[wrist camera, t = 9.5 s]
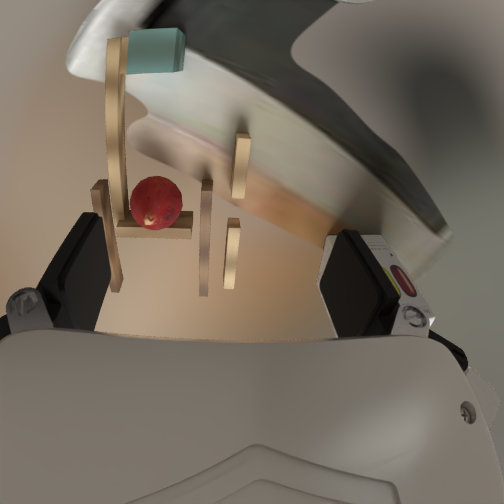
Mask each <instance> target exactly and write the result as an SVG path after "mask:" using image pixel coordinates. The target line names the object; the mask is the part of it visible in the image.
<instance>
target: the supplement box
mask: <svg viewBox="0 0 504 504" xmlns="http://www.w3.org/2000/svg"><path fill="white" fill-rule="evenodd" d="M336 237H337V235H328V236H327V237H326V241H325V246H324V250H323V255H322V259H321V265H320V269H319V273H318V277H317V281H316V282H317V286H318V288H319V291H320V287H319V284H320V280H321V277H322V275H323V272H324V270H325V267H326V264H327V262H328V259H329V256H330V254H331V251H332V248H333V245H334V243H335V240H336ZM361 237H362V238H363V240H364V241H365V243H366V244H367V245H368V247H369V248H370V250H371V251H372V253H373V254H374V256H375V257H376V259H377V260H378V262H379V263H380V265H381V267H382V268H383V270H384V271H385V273H386V274H387V276H388V278H389V279H390V281H391V282H392V284H393V286H394V287H395V289H396V290H397V292H398V294H399V295H400V297H401V298H400V299H399V301H398V302H399V304H400V305H402V304H403V303H412V304H415V305H417V306H418V307H420V308H421V309H422V310H423V311H425V313H426V314H427V316H428V318H429V320H430V325H431V324H432V322H433V321H434V319H435V315H434V313H433V312H432V310H431V308H430V307H429V305H428V303H427V302H426V300H425V299H424V297H423V295H422V294H421V292H420V291H419V289H418V288H417V286H416V285H415V283H414V282H413V280H412V278H411V277H410V275H409V274H408V272H407V271H406V269H405V268H404V267H403V265H402V264H401V262H400V261H399V259H398V258H397V256H396V255H395V253H394V252H393V251H392V249H391V248H390V246H389V245H388V244H387V242H386V241H385V240H384V238H383V237H382V235H361ZM320 294H321V291H320ZM321 296H322V294H321ZM322 299H323V296H322ZM323 302H324V304H325V301H324V299H323ZM325 307H326V310H327V313H328V315H329V318H330V320H331V317H330V314H329V312H328V309H327V306H326V304H325ZM331 324H332V327H333V330H334V333H335V336H336V338H338V336H337V333H336V330H335V328H334V325H333V322H332V320H331Z"/></svg>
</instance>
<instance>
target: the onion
mask: <svg viewBox="0 0 504 504" xmlns="http://www.w3.org/2000/svg"><path fill="white" fill-rule="evenodd" d="M130 208H131V214H132V216H133V217H134V219H135V221H136V222H137V223H138V224H139V225H141V226H142V227H143V228H146V229H149V230H161V229H164V228H167V227H169V226H170V225H171V224H172V223H173V222H174V221H175V220H176V219H177V218H178V216H179V214H180V211H181V209H182V195H181V192H180V191H179V189H178V187H177V186H176V184H174V183H173V182H172V181H170V180H169V179H167V178H164V177H161V176H153V177H148V178H146V179H144V180H142V181H140V183H138V185H137V186H136V187H135V189H134V190H133V192H132V195H131V199H130Z"/></svg>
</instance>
